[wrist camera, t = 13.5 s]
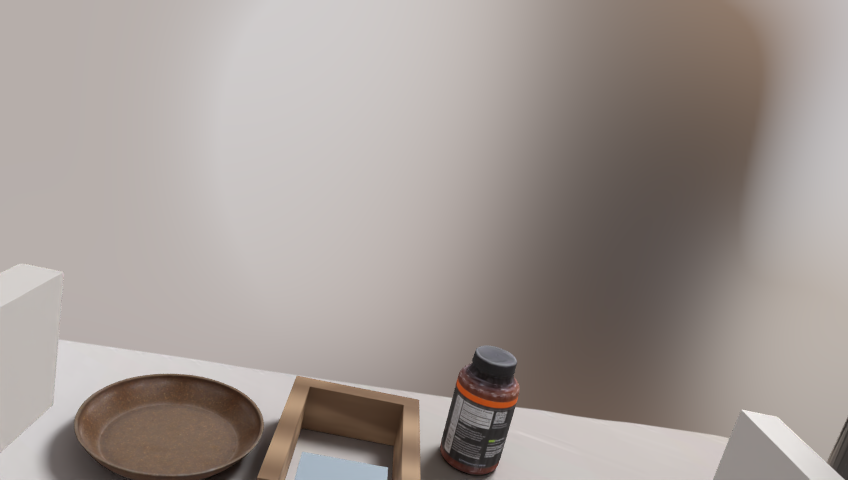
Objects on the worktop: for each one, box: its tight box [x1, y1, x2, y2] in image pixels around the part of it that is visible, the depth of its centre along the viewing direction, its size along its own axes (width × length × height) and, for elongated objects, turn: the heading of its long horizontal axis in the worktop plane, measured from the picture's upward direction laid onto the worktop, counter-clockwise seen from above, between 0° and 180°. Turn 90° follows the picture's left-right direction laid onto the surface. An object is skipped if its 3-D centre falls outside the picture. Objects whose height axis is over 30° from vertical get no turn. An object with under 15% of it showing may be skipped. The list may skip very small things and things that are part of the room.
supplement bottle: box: [440, 346, 519, 475], centre depth 59 cm, size 6×6×11 cm
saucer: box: [74, 374, 264, 480], centre depth 52 cm, size 15×15×3 cm
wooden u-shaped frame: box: [257, 376, 420, 480], centre depth 52 cm, size 16×12×4 cm
